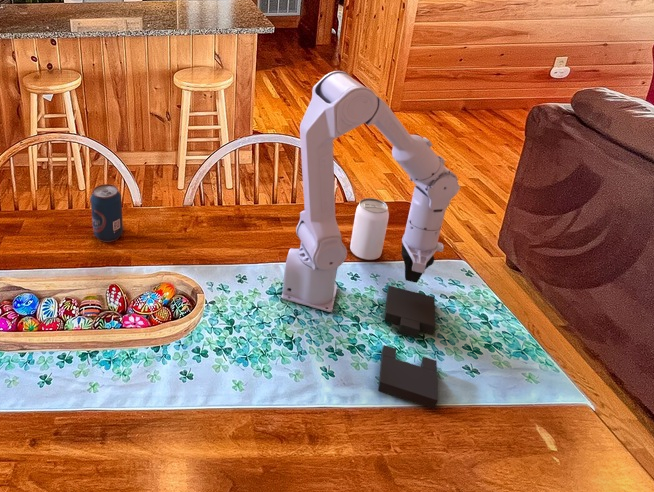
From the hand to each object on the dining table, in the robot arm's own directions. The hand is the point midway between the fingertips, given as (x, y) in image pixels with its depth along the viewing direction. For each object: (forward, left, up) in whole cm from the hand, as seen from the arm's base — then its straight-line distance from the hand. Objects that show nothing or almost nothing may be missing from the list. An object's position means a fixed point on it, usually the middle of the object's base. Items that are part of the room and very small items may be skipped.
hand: (411, 279), depth 100 cm
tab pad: (0, -8, -2) cm, 8 cm away
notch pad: (0, -24, -2) cm, 24 cm away
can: (-9, +8, -2) cm, 12 cm away
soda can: (-64, -9, -2) cm, 65 cm away
